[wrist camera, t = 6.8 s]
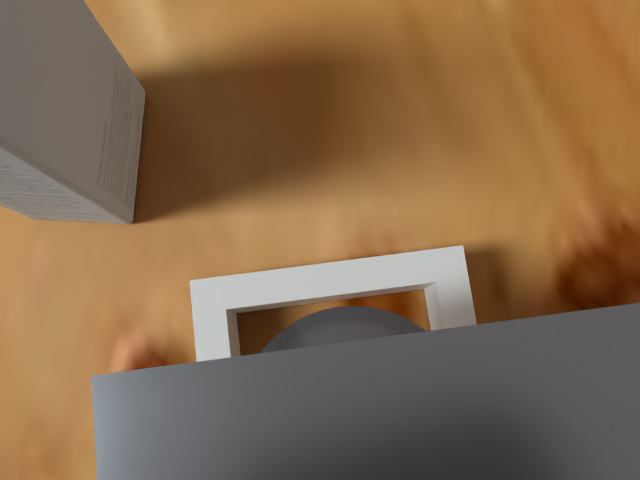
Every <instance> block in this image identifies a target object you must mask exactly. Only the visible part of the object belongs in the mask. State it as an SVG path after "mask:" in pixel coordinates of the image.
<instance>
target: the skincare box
mask: <svg viewBox="0 0 640 480" xmlns="http://www.w3.org/2000/svg"><path fill="white" fill-rule="evenodd" d="M144 105H145V90H144V88H143V87H142V85H141V84H140V83H139V81H138V80H137V78H136V76H135V75H134V74H133V72H132V71H131V69H130V68H129V66H128V65H127V63H126V62H125V60H124V59H123V58H122V56H121V55H120V53H119V52H118V50H117V49H116V47H115V46H114V45H113V43H112V42H111V40H110V39H109V37H108V36H107V34H106V33H105V32H104V30H103V29H102V27H101V26H100V24H99V23H98V22H97V20H96V19H95V17H94V15H93V14H92V12H91V11H90V10H89V8H88V7H87V5H86V4H85V2H84V1H83V0H0V205H1V206H3V207H5V208H8V209H10V210H13V211H15V212H18V213H20V214H23V215H25V216H27V217H30V218H32V219H35V220H43V219H45V220H64V221H86V222H104V223H119V224H130V223H132V221H133V216H134V204H135V194H136V184H137V174H138V165H139V155H140V144H141V134H142V124H143V114H144Z"/></svg>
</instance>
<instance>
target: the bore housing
mask: <svg viewBox="0 0 640 480" xmlns="http://www.w3.org/2000/svg"><path fill="white" fill-rule="evenodd" d="M420 289H424V292H425V298H426V304H427V310H428V316H429V322H430V329H431V331H432V330H439V329H447V328H454V327H462V326H469V325H477V322H476V317H475V311H474V305H473V300H472V294H471V288H470V283H469V277H468V271H467V266H466V260H465V254H464V249H463V245H462V246H454V247H446V248H438V249H431V250H423V251H415V252H407V253H400V254H392V255H384V256H376V257H369V258H361V259H353V260H345V261H338V262H330V263H322V264H314V265H307V266H299V267H291V268H283V269H276V270H268V271H260V272H252V273H245V274H237V275H229V276H221V277H214V278H206V279H198V280H190V290H191V302H192V313H193V324H194V336H195V347H196V358H197V362H199V361H207V360H214V359H222V358H229V357H237V356H241V354H240V344H239V334H238V324H237V315H236V313H244V312H251V311H259V310H267V309H274V308H282V307H290V306H297V305H305V304H313V303H320V302H328V301H336V300H344V299H351V298H359V297H367V296H374V295H382V294H390V293H397V292H405V291H413V290H420Z"/></svg>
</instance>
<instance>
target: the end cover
mask: <svg viewBox="0 0 640 480" xmlns="http://www.w3.org/2000/svg"><path fill="white" fill-rule="evenodd" d="M91 379H92V396H93V414H94V432H95V450H96V468H97V480H640V303H634V304H627V305H619V306H612V307H604V308H597V309H589V310H582V311H574V312H567V313H559V314H552V315H544V316H537V317H529V318H522V319H514V320H507V321H499V322H492V323H484V324H477V325H469V326H462V327H454V328H447V329H439V330H432V331H425V330H424V329H422V328H421V327H419V326H418V325H416V324H415V323H413V322H412V321H410V320H408V319H406V318H403V317H401V316H399V315H397V314H394V313H391V312H388V311H385V310H381V309H376V308H371V307H361V306H346V307H336V308H331V309H326V310H322V311H319V312H316V313H313V314H310V315H308V316H306V317H304V318H302V319H300V320H298V321H296V322H294V323H293V324H291V325H290V326H288V327H287V328H285V329H284V330H282V331H281V332H280V333H279V334H278V335H277V336H275V337H274V338H273V339H272V340H271V341H270V342H269V343H268V344H267V345H266V347H265V348H264V349H263V350H262V351H261V352H260V353H259V354H252V355H244V356H237V357H229V358H222V359H214V360H207V361H199V362H192V363H184V364H177V365H169V366H162V367H154V368H147V369H139V370H132V371H124V372H117V373H109V374H102V375H94V376H91Z"/></svg>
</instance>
